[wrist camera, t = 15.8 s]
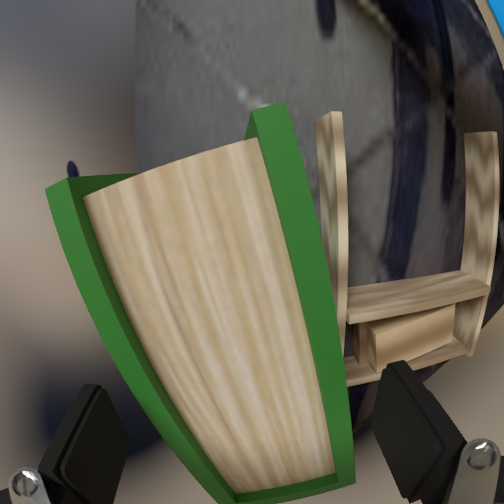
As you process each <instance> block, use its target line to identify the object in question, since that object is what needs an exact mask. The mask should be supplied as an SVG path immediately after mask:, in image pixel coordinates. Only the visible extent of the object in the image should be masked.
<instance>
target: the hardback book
mask: <svg viewBox="0 0 504 504" xmlns="http://www.w3.org/2000/svg"><path fill="white" fill-rule="evenodd" d="M45 192H46V195H47V199H48V202H49V206H50V209H51V213H52V216H53V220H54V223H55V226H56V229H57V232H58V235H59V238H60V241H61V244H62V247H63V250H64V252H65V255H66V258H67V260H68V263H69V266H70V268H71V271H72V273H73V276H74V278H75V281H76V283H77V286H78V288H79V290H80V293H81V295H82V297H83V300H84V302H85V304H86V306H87V309H88V311H89V313H90V315H91V317H92V319H93V321H94V323H95V325H96V328H97V330H98V331H99V334H100V336H101V338H102V340H103V341H104V343H105V345H106V347H107V349H108V351H109V353H110V355H111V356H112V358H113V360H114V362H115V364H116V365H117V367H118V369H119V371H120V372H121V374H122V376H123V378H124V379H125V381H126V382H127V384H128V386H129V387H130V389H131V390H132V392H133V394H134V395H135V397H136V399H137V400H138V402H139V403H140V405H141V406H142V408H143V410H144V411H145V413H146V414H147V416H148V417H149V418H150V420H151V421H152V423H153V424H154V426H155V427H156V429H157V430H158V431H159V433H160V434H161V436H162V437H163V438H164V440H165V441H166V442H167V444H168V445H169V446H170V448H171V449H172V450H173V451H174V453H175V454H176V455H177V457H178V458H179V459H180V460H181V462H182V463H183V464H184V465H185V467H186V468H187V469H188V470H189V472H190V473H191V474H192V475H193V476H194V477H195V479H196V480H197V481H198V482H199V483H200V484H201V485H202V487H203V488H204V489H205V490H206V491H207V492H208V493H209V494H210V495H211V497H212V498H213V499H214V500H215V501H216V502H217V503H218V504H277V503H282V502H287V501H292V500H296V499H301V498H305V497H309V496H313V495H317V494H321V493H325V492H328V491H332V490H335V489H339V488H342V487H345V486H348V485H351V484H354V483H356V479H355V478H356V477H355V462H354V449H353V438H352V426H351V416H350V407H349V399H348V390H347V382H346V375H345V367H344V360H343V354H342V347H341V340H340V334H339V328H338V322H337V316H336V310H335V305H334V299H333V294H332V288H331V283H330V278H329V273H328V268H327V263H326V258H325V253H324V248H323V244H322V239H321V235H320V230H319V226H318V221H317V217H316V213H315V208H314V204H313V200H312V196H311V192H310V188H309V184H308V180H307V176H306V172H305V168H304V165H303V161H302V157H301V153H300V150H299V146H298V143H297V139H296V135H295V132H294V128H293V125H292V122H291V118H290V115H289V112H288V108H287V105H286V102H285V103H281V104H276V105H272V106H267V107H263V108H259V109H254V110H252V111H251V115H250V119H249V123H248V127H247V131H246V135H245V139H244V141H240V142H237V143H233V144H230V145H226V146H223V147H219V148H216V149H212V150H209V151H206V152H203V153H199V154H196V155H193V156H190V157H187V158H184V159H181V160H178V161H175V162H172V163H169V164H166V165H163V166H160V167H158V168H155V169H152V170H149V171H146V172H144V173H132V174H112V175H95V176H82V177H70V178H65V179H63V180H61V181H59V182H57V183H56V184H54V185H52V186H50V187H48V188H46V189H45Z"/></svg>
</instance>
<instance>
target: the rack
mask: <svg viewBox="0 0 504 504" xmlns="http://www.w3.org/2000/svg"><path fill="white" fill-rule="evenodd" d="M315 129H316V141H317V154H318V169H319V185H320V205H321V234H322V244H323V248H324V253H325V258H326V263H327V268H328V273H329V278H330V283H331V288H332V294H333V299H334V305H335V310H336V316H337V322H338V328H339V334H340V340H341V347H342V354H343V353H344V341H345V327H346V321H347V322H348V323H349V324H354V323H360V322H366V321H372V320H377V319H383V318H388V317H393V316H398V315H403V314H408V313H413V312H418V311H422V310H427V309H431V308H436V307H440V306H444V305H449V304H453V303H455V316H454V327H453V336H452V341H451V342H449V343H447V344H445V345H443V346H441V347H439V348H436V349H434V350H432V351H430V352H428V353H425V354H423V355H421V356H419V357H416V358H414V359H412V360H409V361H407V363H408V365H409V366H410V367H411V369H412V370H413V371H414V370H417V369H421V368H424V367H427V366H430V365H433V364H437V363H440V362H443V361H446V360H448V359H451V358H454V357H457V356H460V355H462V354H466V355H467V356H468V357H469V356H472V355H473V353H474V350H475V347H476V343H477V340H478V336H479V332H480V329H481V325H482V321H483V317H484V313H485V309H486V304H487V299H488V294H490V289H491V286H490V284H491V278H492V272H493V265H494V258H495V250H496V241H497V230H498V215H499V154H498V140H497V132H493V131H488V132H473V133H463V134H464V146H465V165H466V212H465V231H464V244H463V254H462V263H461V270H459V271H453V272H447V273H441V274H436V275H430V276H423V277H417V278H411V279H404V280H398V281H391V282H384V283H377V284H370V285H363V286H355V287H348V199H347V176H346V159H345V145H344V133H343V122H342V112H334V111H331V112H329V113H328V114H326V115H324V116H323V117H321V118H320V119H318V120H316V121H315ZM343 360H344V367H345V375H346V382H347V387H349V386H353V385H358V384H363V383H367V382H372V381H376V380H380V378H381V374H382V371H381V372H379V373H376V371H375V370H374V368H373V367H372V365H371V364H370V362H368V363H365V364H361V365H359V364H358V362H357V360H356V359H355V357H354V356H350V357H345V358H343Z"/></svg>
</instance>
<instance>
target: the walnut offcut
mask: <svg viewBox="0 0 504 504" xmlns="http://www.w3.org/2000/svg"><path fill="white" fill-rule="evenodd" d="M372 321H373V320H372ZM367 322H370V321H366V322H360V323H354V324H353V355H354V357H355V359H356V360H357V362H358V364H359V365H361V364H365V363H368V362H369V361H368V347H367V330H366V323H367Z"/></svg>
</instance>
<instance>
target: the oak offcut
mask: <svg viewBox="0 0 504 504" xmlns="http://www.w3.org/2000/svg"><path fill="white" fill-rule="evenodd" d="M454 316H455V303H453V304H449V305H444V306H440V307H436V308H431V309H427V310H422V311H418V312H413V313H408V314H403V315H398V316H393V317H388V318H383V319H377V320H373V321H370V322H367V323H366V330H367V347H368V361H369V362H370V364H371V365H372V367H373V368H374V370H375V371H376V373H379V372H381V371H382V370H383V369H384V368H386V366H387V364H388V363H392V362H396V361H400V360H405V361H406V362H407V361H409V360H412V359H414V358H416V357H419V356H421V355H423V354H425V353H428V352H430V351H432V350H434V349H436V348H439V347H441V346H443V345H445V344H447V343H449V342H451V341H452V336H453V327H454Z"/></svg>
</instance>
